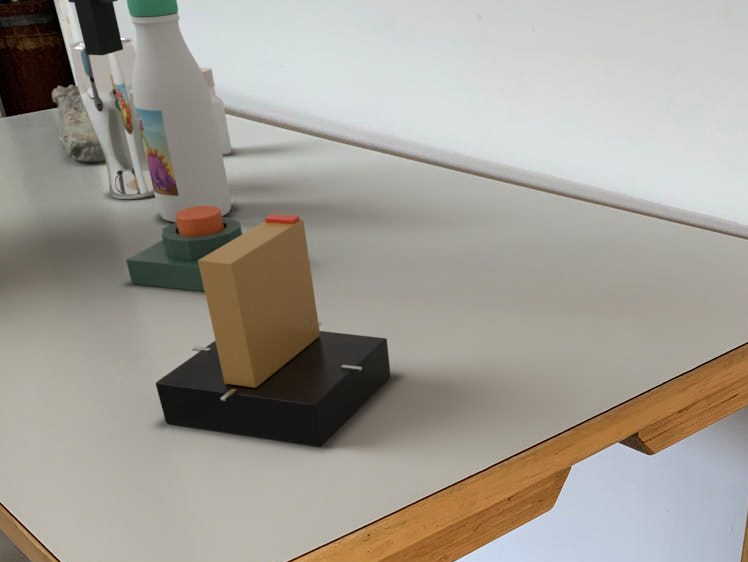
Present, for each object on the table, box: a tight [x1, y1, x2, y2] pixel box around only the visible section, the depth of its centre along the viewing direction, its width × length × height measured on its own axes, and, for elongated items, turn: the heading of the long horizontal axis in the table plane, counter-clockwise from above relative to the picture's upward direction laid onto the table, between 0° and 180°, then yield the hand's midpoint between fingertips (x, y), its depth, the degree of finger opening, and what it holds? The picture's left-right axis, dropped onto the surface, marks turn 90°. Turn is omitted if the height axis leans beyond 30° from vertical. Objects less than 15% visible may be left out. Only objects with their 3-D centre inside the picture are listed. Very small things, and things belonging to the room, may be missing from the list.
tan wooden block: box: [198, 213, 321, 388], centre depth 65 cm, size 9×2×8 cm, turn 159°
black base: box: [155, 321, 391, 448], centre depth 68 cm, size 13×13×3 cm
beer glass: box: [69, 37, 155, 200], centre depth 109 cm, size 7×7×15 cm
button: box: [175, 206, 224, 236], centre depth 88 cm, size 4×4×2 cm
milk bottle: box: [126, 0, 232, 223], centre depth 99 cm, size 8×8×20 cm
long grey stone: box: [51, 84, 106, 163], centre depth 136 cm, size 35×5×10 cm
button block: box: [125, 216, 243, 292], centre depth 89 cm, size 11×9×4 cm
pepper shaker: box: [200, 67, 232, 156], centre depth 124 cm, size 4×4×10 cm
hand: (105, 51), depth 77 cm, fingers closed
